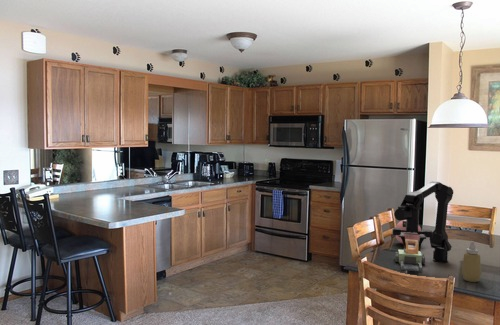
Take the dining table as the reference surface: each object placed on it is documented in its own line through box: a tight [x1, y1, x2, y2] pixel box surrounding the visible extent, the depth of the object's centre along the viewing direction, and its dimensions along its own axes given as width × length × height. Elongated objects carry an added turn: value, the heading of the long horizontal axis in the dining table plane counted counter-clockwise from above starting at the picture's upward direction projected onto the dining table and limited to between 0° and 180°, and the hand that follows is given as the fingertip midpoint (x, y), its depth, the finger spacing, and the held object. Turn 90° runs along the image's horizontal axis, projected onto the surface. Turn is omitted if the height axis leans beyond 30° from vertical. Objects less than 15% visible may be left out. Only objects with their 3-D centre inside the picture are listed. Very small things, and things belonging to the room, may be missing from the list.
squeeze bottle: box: [461, 240, 482, 283], centre depth 194 cm, size 8×8×18 cm
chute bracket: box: [399, 260, 423, 273], centre depth 212 cm, size 10×11×2 cm
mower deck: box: [394, 245, 426, 266], centre depth 222 cm, size 14×9×8 cm, turn 73°
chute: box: [405, 239, 420, 254], centre depth 212 cm, size 6×9×5 cm, turn 163°
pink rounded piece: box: [394, 220, 422, 246], centre depth 256 cm, size 15×20×15 cm
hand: (411, 249), depth 212 cm, fingers closed on chute, 6 cm apart
